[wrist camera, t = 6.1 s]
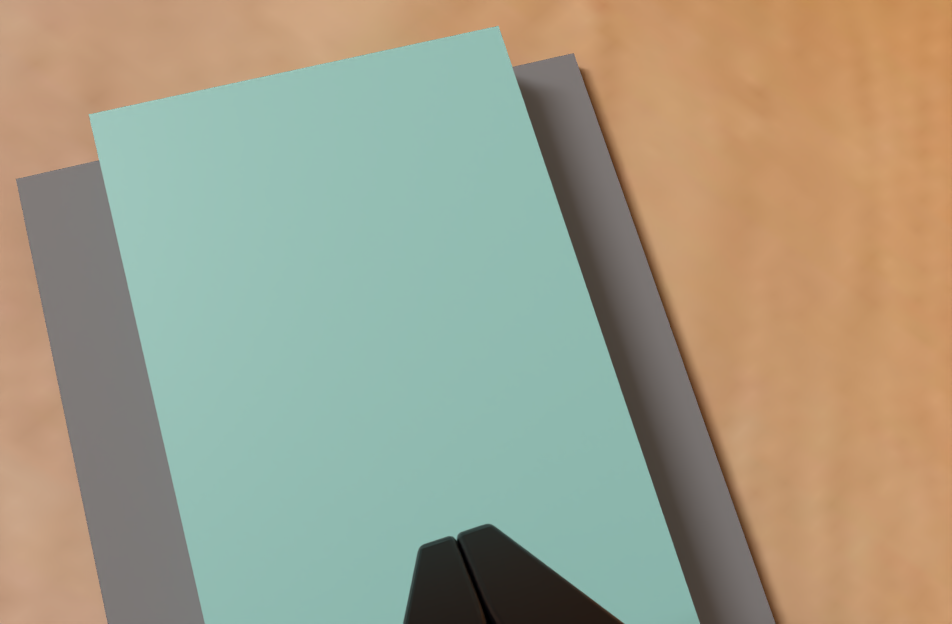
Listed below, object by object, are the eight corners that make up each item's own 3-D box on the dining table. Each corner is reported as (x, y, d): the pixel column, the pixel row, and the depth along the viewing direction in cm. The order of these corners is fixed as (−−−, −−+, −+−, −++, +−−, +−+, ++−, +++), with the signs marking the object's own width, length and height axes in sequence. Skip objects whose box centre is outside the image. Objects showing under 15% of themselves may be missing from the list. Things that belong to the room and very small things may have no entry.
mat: (864, 900, 15) (877, 911, 14) (232, 1181, 13) (227, 1203, 12) (569, 62, 18) (573, 53, 18) (25, 186, 16) (16, 179, 16)
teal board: (701, 628, 14) (498, 25, 16) (244, 795, 12) (88, 114, 14) (669, 613, 15) (488, 67, 17) (260, 760, 14) (118, 150, 16)
